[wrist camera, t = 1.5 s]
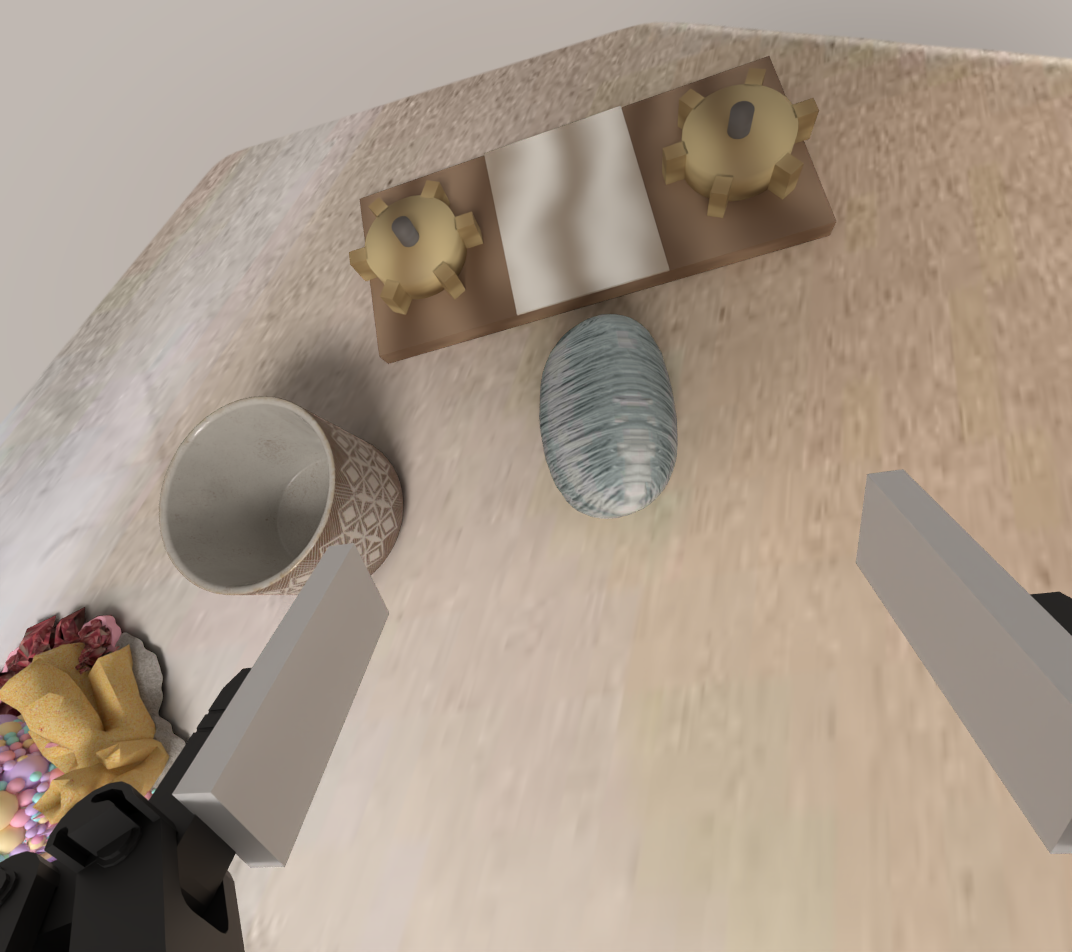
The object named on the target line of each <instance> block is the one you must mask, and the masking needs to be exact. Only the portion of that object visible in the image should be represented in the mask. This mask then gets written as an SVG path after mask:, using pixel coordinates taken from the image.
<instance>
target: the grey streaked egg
mask: <svg viewBox="0 0 1072 952" xmlns="http://www.w3.org/2000/svg"><path fill="white" fill-rule="evenodd" d="M539 417H540V429H541V436H542V442H543V447H544V453H545V457H546V461H547V464H548V467H549V469H550V472H551V475H552V478H553V480H554V482H555V484H556V486H557V488H558V489H559V491H560V492H561V493H562V495H563V496H564V498H565V499H566V501H567V502H568V503H569V504H570V505H571V506H572V507H573V508H575V509H576V510H578V511H579V512H582V513H584V514H586V515H589V516H591V517H597V518H604V519H609V518H617V517H622V516H626V515H629V514H632V513H634V512H636V511H639V510H641V509H643V508H645V507H646V506H648V505H649V504H650V503H651V502H653V501H654V500H655V499H656V498H657V497H658V496H659V495H660V493H661V492H662V491H663V490H664V488H665V487H666V485H667V483H668V481H669V479H670V476H671V474H672V472H673V469H674V466H675V462H676V456H677V418H676V411H675V405H674V399H673V393H672V388H671V385H670V380H669V376H668V372H667V369H666V367H665V363H664V360H663V356H662V353H661V352H660V350H659V348H658V346H657V344H656V343H655V341H654V339H653V338H652V336H651V334H650V333H649V331H648V330H647V329H645V328H644V327H643V326H642V325H641V324H640V323H638V322H637V321H635V320H633V319H632V318H629V317H626V316H623V315H616V314H603V315H598V316H595V317H592V318H589V319H587V320H585V321H583V322H581V323H580V324H578V325H577V326H575V327H574V328H572V329H571V330H569V331H568V332H567V333H566V334H565V335H564V336H563V337H562V338H561V339H560V341H559V342H558V343H557V344H556V346H555V347H554V348H553V350H552V351H551V353H550V355H549V358H548V360H547V362H546V365H545V368H544V371H543V374H542V381H541V390H540V415H539Z"/></svg>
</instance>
